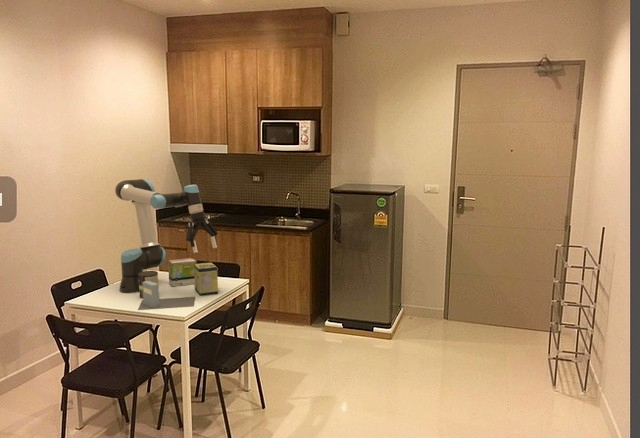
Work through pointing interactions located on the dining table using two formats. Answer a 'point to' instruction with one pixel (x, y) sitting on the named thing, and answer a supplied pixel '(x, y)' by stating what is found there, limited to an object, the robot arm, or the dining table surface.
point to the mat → (171, 303)
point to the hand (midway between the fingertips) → (205, 250)
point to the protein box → (206, 279)
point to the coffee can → (146, 279)
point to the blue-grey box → (151, 294)
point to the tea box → (181, 272)
